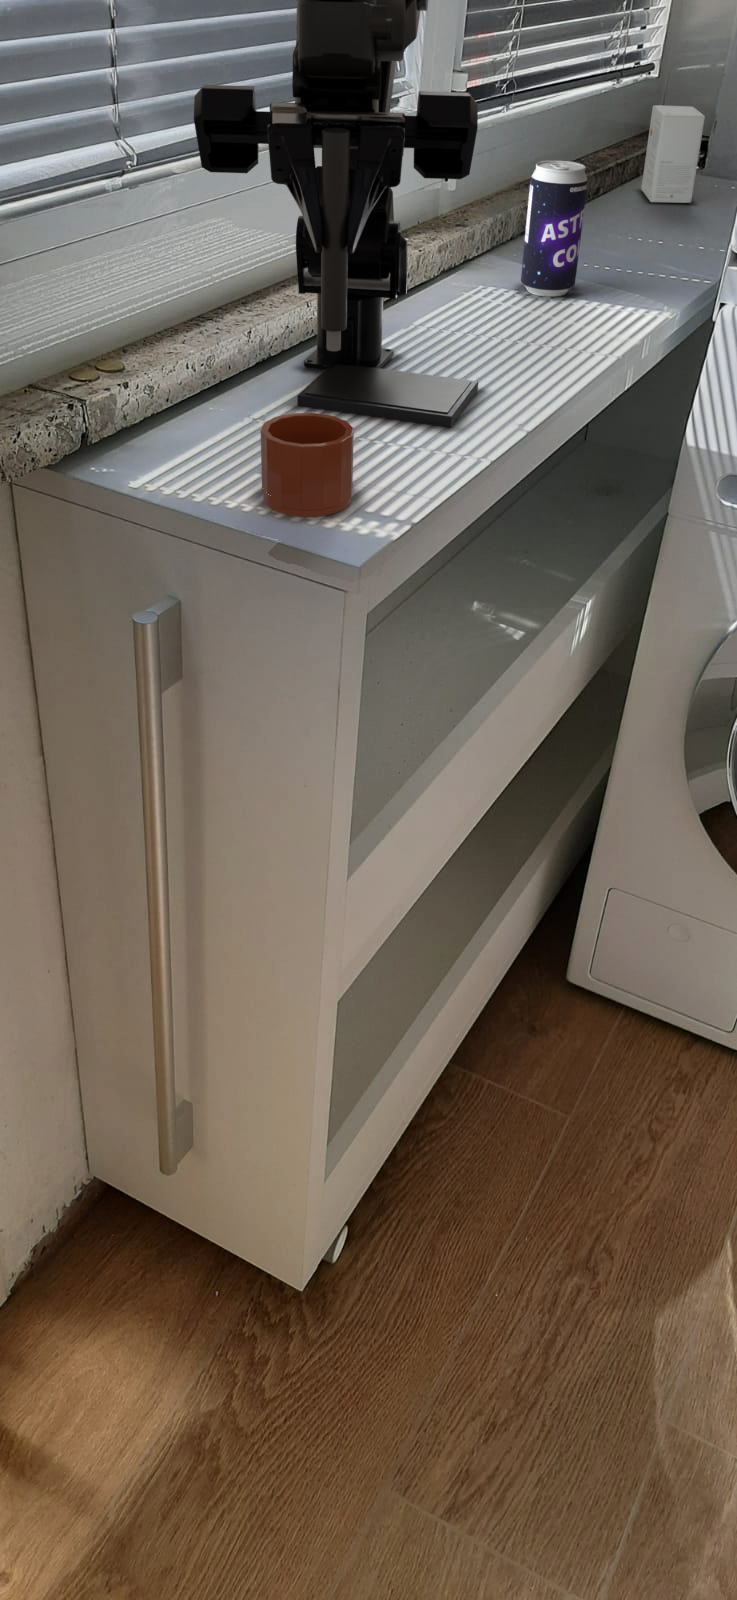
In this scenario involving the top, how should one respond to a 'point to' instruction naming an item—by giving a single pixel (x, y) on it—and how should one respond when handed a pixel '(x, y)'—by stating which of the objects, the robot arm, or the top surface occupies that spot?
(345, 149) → the stylus
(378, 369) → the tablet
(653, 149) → the small box
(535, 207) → the beverage can
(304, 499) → the pencil cup
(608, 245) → the top surface
